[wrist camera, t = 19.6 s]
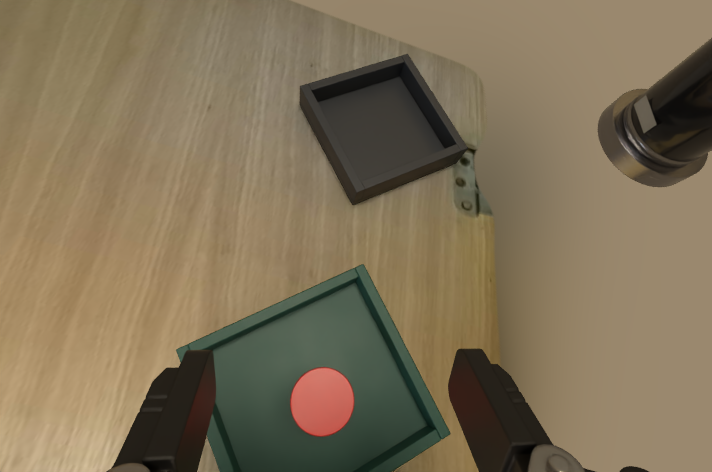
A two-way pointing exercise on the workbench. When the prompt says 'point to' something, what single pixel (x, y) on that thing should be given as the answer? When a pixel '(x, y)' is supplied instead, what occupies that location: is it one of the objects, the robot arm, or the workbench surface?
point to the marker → (322, 401)
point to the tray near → (309, 351)
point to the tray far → (380, 127)
